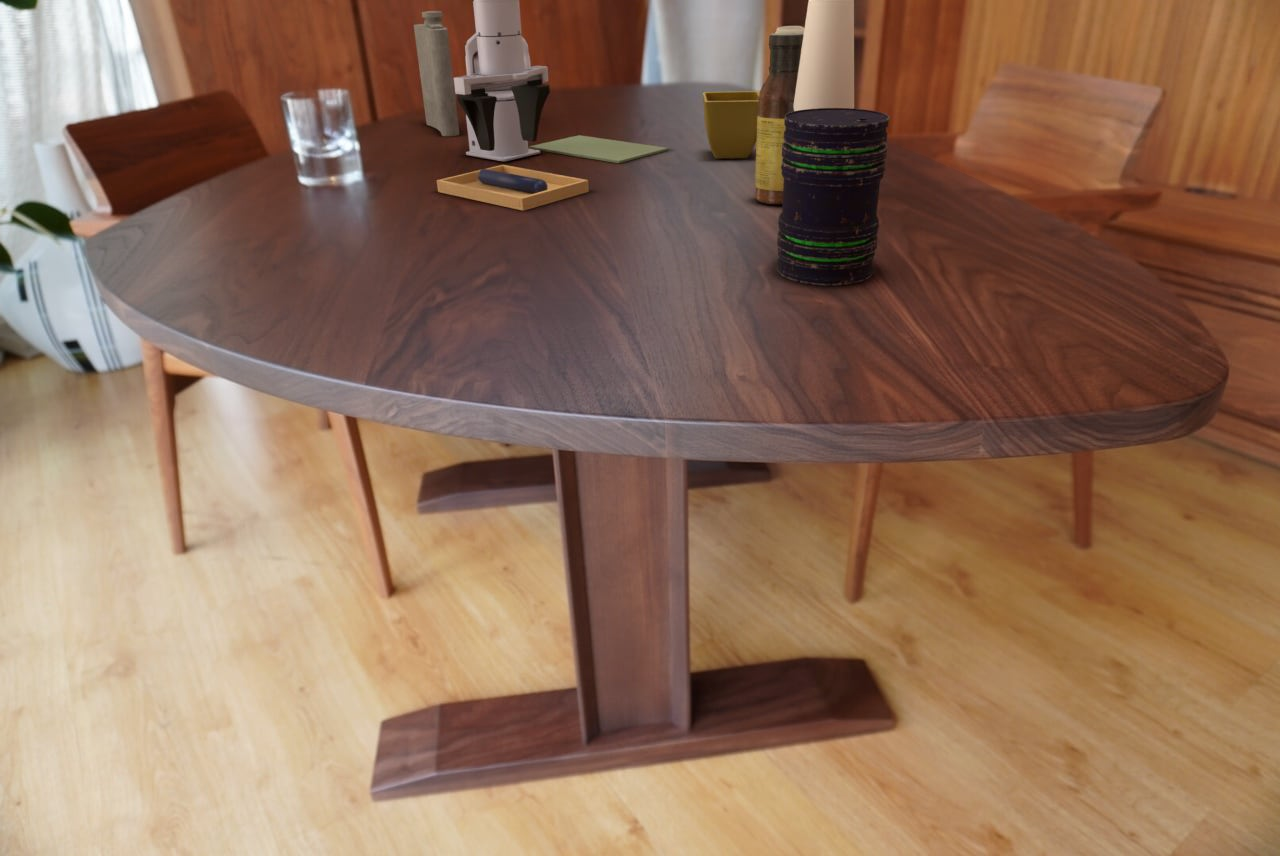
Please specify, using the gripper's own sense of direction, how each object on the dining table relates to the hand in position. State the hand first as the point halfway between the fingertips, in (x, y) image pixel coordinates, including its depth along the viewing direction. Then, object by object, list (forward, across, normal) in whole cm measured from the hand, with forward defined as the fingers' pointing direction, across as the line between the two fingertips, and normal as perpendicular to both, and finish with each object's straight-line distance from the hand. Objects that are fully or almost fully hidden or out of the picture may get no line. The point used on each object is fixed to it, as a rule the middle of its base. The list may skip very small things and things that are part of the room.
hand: (508, 145), depth 121 cm
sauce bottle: (+6, +17, -32) cm, 37 cm away
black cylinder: (+7, -4, -51) cm, 51 cm away
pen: (+6, 0, 0) cm, 6 cm away
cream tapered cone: (+6, +11, -41) cm, 43 cm away
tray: (+6, 0, 0) cm, 6 cm away
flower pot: (+6, +36, -11) cm, 38 cm away
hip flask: (+6, +26, +47) cm, 54 cm away
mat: (+6, +28, +10) cm, 30 cm away
